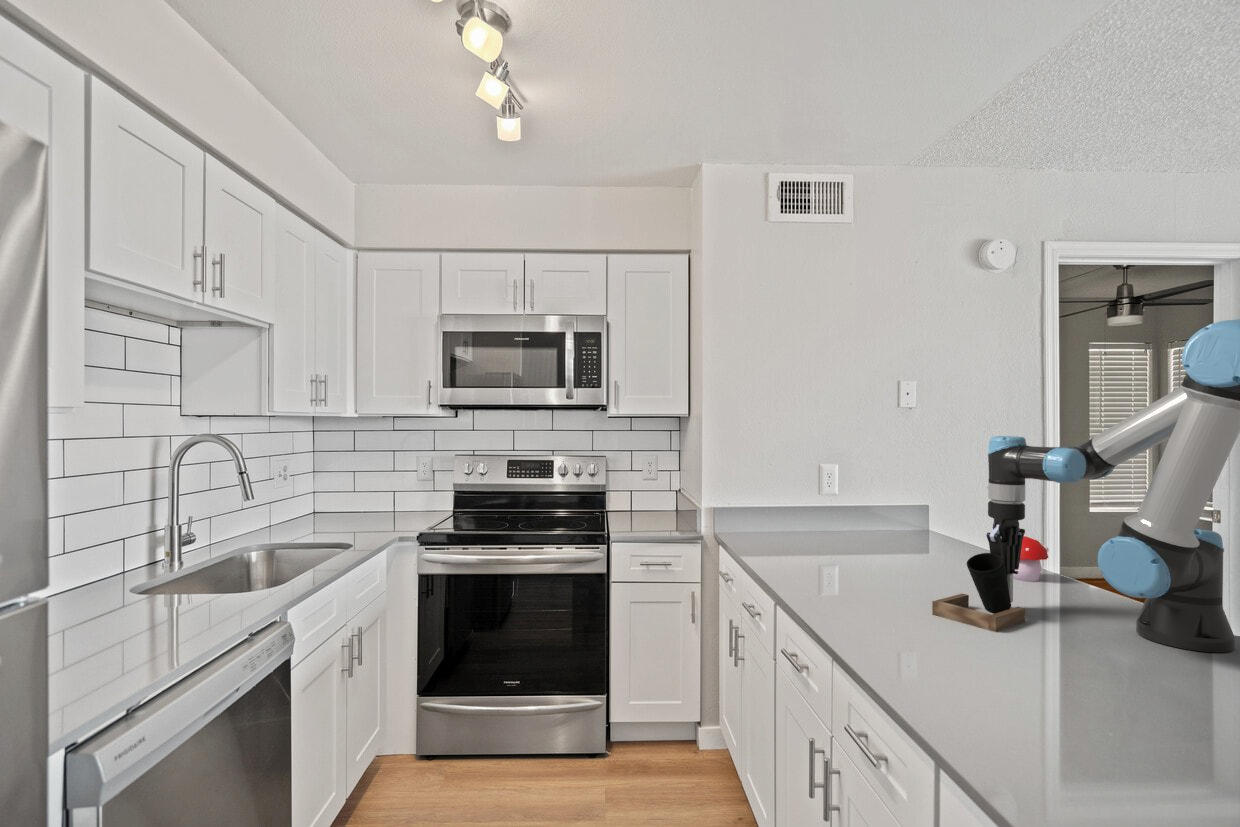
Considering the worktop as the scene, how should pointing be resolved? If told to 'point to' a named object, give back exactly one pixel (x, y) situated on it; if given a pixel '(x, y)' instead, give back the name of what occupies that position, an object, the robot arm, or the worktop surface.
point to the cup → (990, 581)
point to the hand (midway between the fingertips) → (1005, 600)
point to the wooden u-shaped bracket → (976, 614)
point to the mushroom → (1031, 560)
